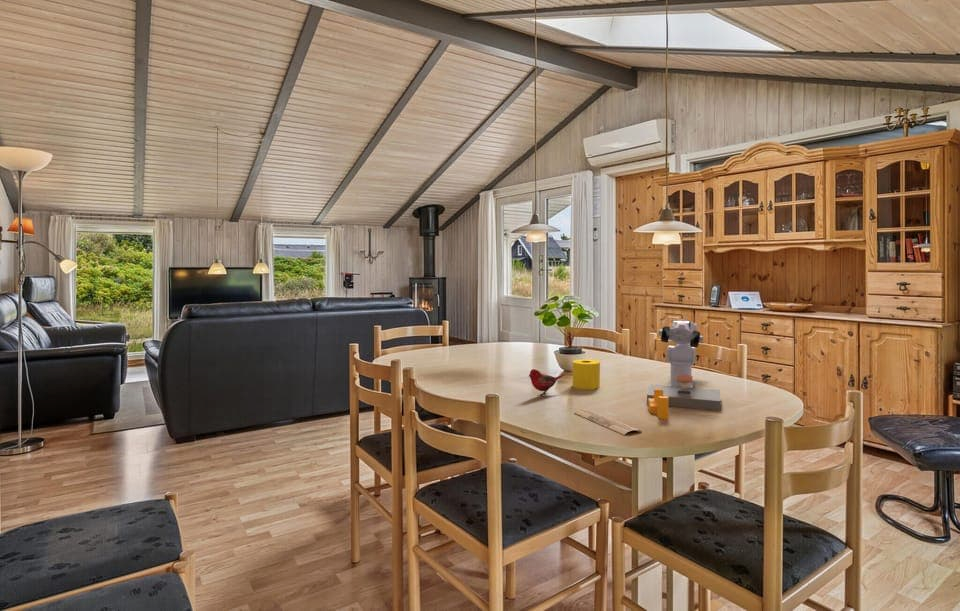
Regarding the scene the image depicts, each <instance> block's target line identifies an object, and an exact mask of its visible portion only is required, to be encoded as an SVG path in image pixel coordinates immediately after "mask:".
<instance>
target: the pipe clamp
mask: <svg viewBox="0 0 960 611" xmlns="http://www.w3.org/2000/svg"><path fill="white" fill-rule="evenodd" d="M668 404H669V398H668V396H664V395H663V389H654V398H648V404H647V408H648V411H649V413H650V414H656V415H657V418H658V419H662V420H663V419H664V420H668V419H669V406H668Z"/></svg>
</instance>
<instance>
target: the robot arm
mask: <svg viewBox="0 0 960 611" xmlns="http://www.w3.org/2000/svg"><path fill="white" fill-rule="evenodd" d="M657 335H658V337H660V340H661V342H663V343H667V344H668V343H669V341H670V342H673V343H675V344H676V345H668V346H667V347H666V348H667V349H666V360H667V363H669V364H670V383H669V385H668V386H675V387H680V382H677V381H676V375H678V374H686V375H691V376H692V370H693V369H692V368H693V367H692V365H693V364H695V363H696V356H697V355H696V354H697V353H696V352H697V351H696V349H697V348H698V347H699V345H700V344H703V341H704V335H701V332H700V331H699V330H698V325H697V323H696V322H692V321H687V320H686V318H681V319H680V320H673V323H672V324H671V326H667V325H666V326H663V327H662V328H660V329H659V330H658V334H657ZM688 388H694V387H693V383H692V382H691V383H688Z"/></svg>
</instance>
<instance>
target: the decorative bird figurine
mask: <svg viewBox="0 0 960 611" xmlns="http://www.w3.org/2000/svg"><path fill="white" fill-rule="evenodd" d="M563 376H565V374H564V373H563V374H559V375H558V376H555V377H554V376H552V375H549V374H544V373H541V372H540V371H539V370H538V369H534V368H533V369H531V370H530V371H529V374H528V377H529V378H530V380H531V384H532V387H533V388H535V389H536V390H537V391H540V392H542V393H540V394H538V395H537V396H538V397H539V396H540V397H543V396H546V395H548V394H549V393H548V390H550V389H551V388H552V387H554V386H555V384H556V382H557V381H558V380H559V379H560V378H563ZM542 395H543V396H542Z"/></svg>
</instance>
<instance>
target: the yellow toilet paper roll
mask: <svg viewBox="0 0 960 611" xmlns="http://www.w3.org/2000/svg"><path fill="white" fill-rule="evenodd" d="M600 367H601V361H600V360H595V359H590V358H589V359H588V358H587V359H586V358H585V359H584V358H583V359H574V360H573V361H572V388H574V387H576V388H575V389H578V388H581V389H580V390H596V389H595V388H597V389H600V384H601V383H600V381H601V378H600V376H601V374H600V373H601V368H600Z"/></svg>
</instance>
